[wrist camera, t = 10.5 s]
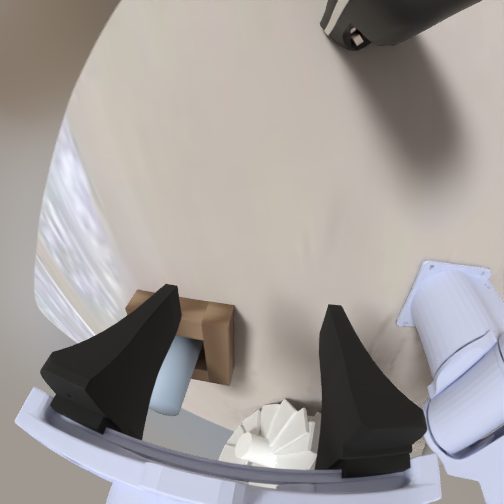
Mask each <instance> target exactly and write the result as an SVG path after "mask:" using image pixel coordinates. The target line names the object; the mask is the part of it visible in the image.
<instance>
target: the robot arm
mask: <svg viewBox="0 0 504 504" xmlns="http://www.w3.org/2000/svg"><path fill="white" fill-rule="evenodd" d="M431 265H432V267H430V266H431ZM429 267H430V268H429ZM491 273H492V271H491V270H490V269H489V268H482V267H475V266H467V265H460V264H452V263H445V262H437V261H430V260H426V261H424V262H423V263H422V265H421V267H420V270H419V272H418V275H417V277H416V279H415V282H414V284H413V286H412V289H411V291H410V293H409V295H408V298H407V300H406V302H405V304H404V306H403V308H402V310H401V312H400V314H399V316H398V318H397V320H396V323H397V325H398V326H410V327H416V328H417V331H418V334H419V337H420V340H421V343H422V346H423V349H424V352H425V355H426V358H427V361H428V364H429V368H430V371H431V375H432V378H433V382H432V383H431V384H430V385H429V386H428V387H427V388H428V392H429V396H430V398H428V399H427V400H426V402H425V403H424V405H423V407H422V409H421V408H420V407H418V406H417V405H416V404H414V403H413V402H412V401H411V400H409V399H408V398H407V397H406V396H405V395H404V394H403V393H401V392H400V391H399V390H398V389H397V388H396V387H395V386H394V385H393V384H392V382H391V381H390V380H389V379H388V378H387V377H386V376H385V375H384V374H383V372H382V371H381V370H380V369H379V368H378V366H377V365H376V364H375V362H374V361H373V360H372V358H371V357H370V355H369V354H368V352H367V351H366V349H365V348H364V346H363V344H362V343H361V341H360V339H359V338H358V336H357V334H356V332H355V331H354V329H353V327H352V325H351V323H350V321H349V319H348V317H347V315H346V313H345V311H344V309H343V307H342V306H341V305H329V304H328V308H327V311H326V315H325V318H324V321H323V325H322V328H321V331H320V338H319V359H320V371H321V385H322V411H321V424H320V435H319V443H318V451H317V457H316V464H315V469H314V470H298V469H280V468H268V467H258V466H250V465H243V464H236V463H230V462H224V461H218V460H213V459H208V458H203V457H198V456H194V455H190V454H186V453H182V452H178V451H174V450H171V449H167V448H164V447H160V446H157V445H154V444H151V443H148V442H144V441H142V437H143V431H144V426H145V421H146V416H147V412H148V408H149V404H150V400H151V396H152V393H153V389H154V386H155V383H156V379H157V376H158V373H159V371H160V368H161V366H162V364H163V362H164V360H165V357H166V355H167V353H168V351H169V349H170V347H171V344H172V342H173V340H174V338H175V336H176V333H177V330H178V327H179V324H180V321H181V317H182V313H181V307H180V300H179V294H178V288H177V286H175V285H169V284H165V285H164V286H163V287H162V288H160V289H159V290H158V291H157V292H156V293H154V294H153V295H152V296H151V297H150V298H149V299H147V300H146V301H145V302H144V303H143V304H141V305H140V306H139V307H138V308H136V309H135V310H134V311H133V312H131V313H130V314H129V315H127V316H126V317H125V318H123V319H122V320H120V321H119V322H118V323H116V324H115V325H113V326H111V327H110V328H108V329H106V330H105V331H103V332H101V333H99V334H97V335H95V336H93V337H91V338H90V339H87V340H85V341H83V342H81V343H78V344H76V345H73V346H70V347H68V348H65V349H62V350H58V351H55V352H52V354H51V355H50V356H49V358H48V360H47V361H46V362H45V364H44V366H43V367H42V369H41V371H40V373H41V375H42V377H43V379H44V380H45V382H46V383H47V384H48V385H49V386H50V388H51V389H52V390H53V391H54V392H55V393H56V395H55V397H54V398H53V397H51V396H50V395H49V394H47V393H45V392H44V391H42V390H40V389H39V388H37V387H33V389H32V391H31V393H30V394H29V396H28V398H27V400H26V401H25V403H24V405H23V407H22V409H21V410H20V412H19V414H18V416H17V418H16V420H15V423H16V424H17V425H18V426H20V427H21V428H22V429H23V430H25V431H26V432H27V433H28V434H30V435H31V436H32V437H34V438H35V439H36V440H38V441H39V442H40V443H42V444H43V445H45V446H46V447H48V448H49V449H51V450H53V451H54V452H56V453H57V454H59V455H61V456H62V457H64V458H66V459H67V460H69V461H71V462H73V463H74V464H76V465H78V466H80V467H82V468H83V469H86V470H87V471H89V472H91V473H93V474H95V475H97V476H99V477H101V478H103V479H105V480H108V481H110V482H112V483H113V484H112V487H111V489H110V492H109V495H108V498H107V501H106V504H428V503H431V502H434V501H436V500H439V499H441V497H442V495H441V482H440V472H439V464H438V457H439V458H440V460H441V461H442V463H443V465H444V467H445V470H446V473H447V474H449V475H452V476H456V477H460V478H466V479H471V480H476V481H478V482H479V484H480V487H481V490H482V493H483V496H484V499H485V502H486V504H504V425H503V426H502V427H500V426H501V425H502V424H504V301H503V300H502V298H501V296H500V295H499V293H498V292H497V291H496V289H495V288H494V286H493V285H492V283H491V282H490V280H489V278H490V276H491ZM498 427H500V428H499V429H498V430H496V431H495V432H493V433H492V434H490V435H489V436H487V437H485V436H486V435H488V434H489V433H491V432H492V431H494V430H495V429H497V428H498ZM422 436H423V437H424V439H425V441H426V443H427V445H428V446H429V448H430V449H431V450H432V451H433V452H434V453H431V454H426V455H421V456H417V457H413V458H411V459H410V455H409V453H411V452H412V444H413V443H415V442H416V441H417V440H419V439H420V438H421V437H422ZM483 437H485V438H483ZM481 438H483V439H481ZM148 459H150V460H153V461H156V462H152V461H150V460H148ZM157 462H159V463H157ZM161 463H162V464H161ZM168 465H169V466H168ZM175 467H176V468H175ZM179 468H180V469H179ZM195 472H196V473H195ZM199 473H200V474H199ZM204 474H205V475H204ZM208 475H209V476H208ZM213 476H214V477H213ZM219 477H220V478H219ZM224 478H225V479H224ZM229 479H231V480H229ZM234 480H238V481H246V482H253V483H262V484H273V485H278V486H277V487H276V489H274V488H266V487H260V486H253V485H248V484H244V483H241V482H237V481H234Z"/></svg>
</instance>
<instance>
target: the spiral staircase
mask: <svg viewBox="0 0 504 504" xmlns="http://www.w3.org/2000/svg"><path fill="white" fill-rule="evenodd" d="M260 412H261V413H260ZM320 424H321V413H320V412H318V411H317V413H316V414H315V415H314V417H313V416H307V412H306V408H302V409H301V410H299V411H297V410H296V409H295V408H294V407H293V406H292V405H291V404H290V403H289V402H288V401H287V400H286V399H284V400H283V401H282V403H281V404H270V405H263V408H262V410H261V411H260V410H257V411H255V412H254V413H253V414H251V415H250V416H249V417H247V418H246V419H245V420H243V426H242V425H239V426H238V428H237V429H236V430H235V432H234V433H233V435H232V436H231V437H230V439H229V440H228V441H227V444H228V445H226V444H225V447H224V448H223V451H222V453H221V455H220V457H219V460H218V461H224V462H230V463H236V464H243V465H247V463H248V461H250V462H253V464H252V466H258V467H268V468H280V469H298V470H314V469H315V464H316V457H317V451H318V443H319V435H320ZM249 485H253V486H260V487H266V488H274V489H276V487H277V486H278V485H273V484H262V483H253V482H249Z"/></svg>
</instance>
